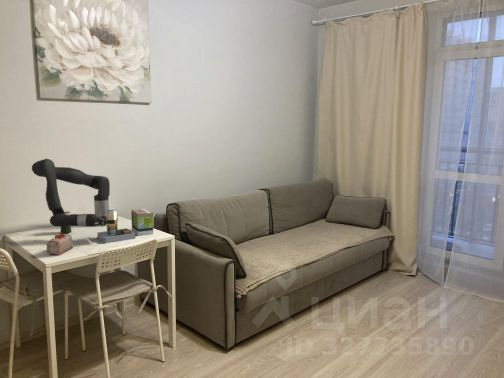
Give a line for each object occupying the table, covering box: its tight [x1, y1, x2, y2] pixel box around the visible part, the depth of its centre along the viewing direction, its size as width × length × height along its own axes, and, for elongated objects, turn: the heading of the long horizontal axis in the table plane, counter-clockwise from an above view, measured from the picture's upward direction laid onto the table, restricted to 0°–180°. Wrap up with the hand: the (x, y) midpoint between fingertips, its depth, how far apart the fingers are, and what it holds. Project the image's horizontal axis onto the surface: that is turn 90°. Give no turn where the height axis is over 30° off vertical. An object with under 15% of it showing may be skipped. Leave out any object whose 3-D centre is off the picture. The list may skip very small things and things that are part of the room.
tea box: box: [130, 207, 154, 237], centre depth 259 cm, size 15×10×15 cm
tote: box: [97, 227, 136, 244], centre depth 246 cm, size 14×18×4 cm
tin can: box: [106, 209, 119, 235], centre depth 243 cm, size 6×6×14 cm
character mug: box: [60, 210, 72, 234], centre depth 258 cm, size 11×7×13 cm, turn 79°
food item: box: [46, 233, 74, 256], centre depth 222 cm, size 14×8×10 cm, turn 171°
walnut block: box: [121, 228, 132, 235], centre depth 250 cm, size 6×4×4 cm, turn 37°
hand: (116, 220), depth 243 cm, fingers closed on tin can, 6 cm apart
